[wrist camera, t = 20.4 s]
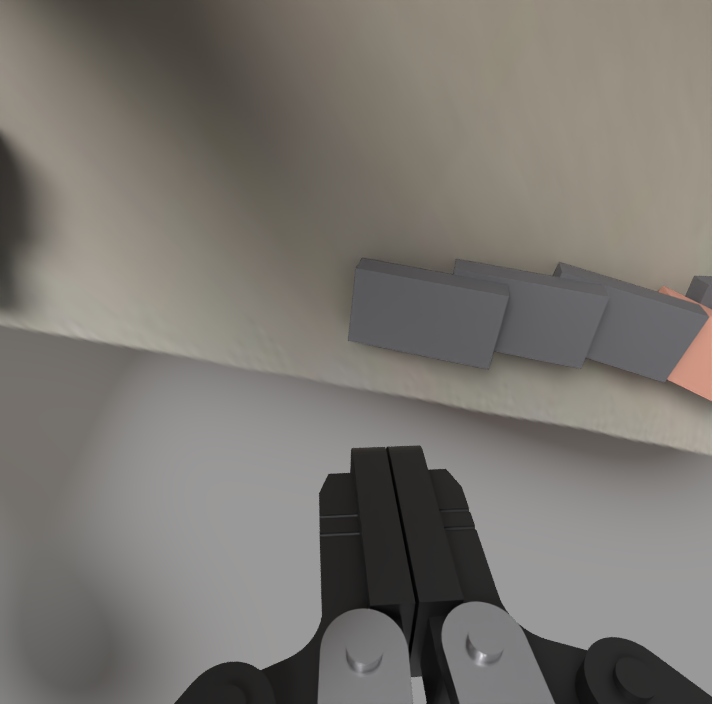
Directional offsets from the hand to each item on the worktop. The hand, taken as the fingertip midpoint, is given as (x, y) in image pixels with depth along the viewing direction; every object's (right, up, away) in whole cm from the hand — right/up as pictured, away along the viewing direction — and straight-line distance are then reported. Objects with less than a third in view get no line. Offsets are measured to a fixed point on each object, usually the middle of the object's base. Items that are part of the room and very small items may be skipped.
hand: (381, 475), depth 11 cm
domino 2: (+5, +6, +22) cm, 23 cm away
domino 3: (+12, +6, +22) cm, 26 cm away
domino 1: (-1, +6, +21) cm, 22 cm away
